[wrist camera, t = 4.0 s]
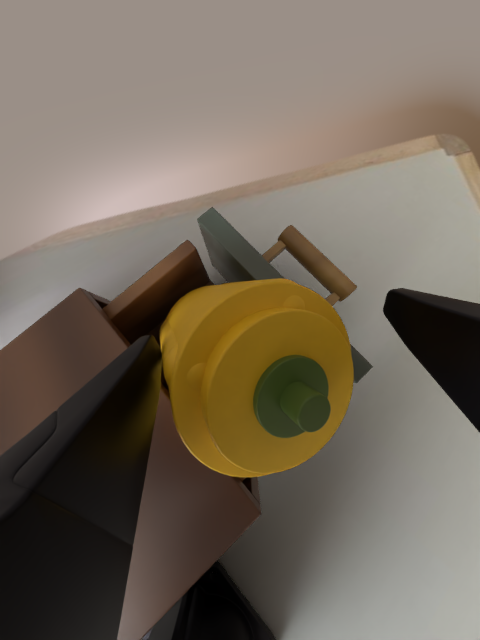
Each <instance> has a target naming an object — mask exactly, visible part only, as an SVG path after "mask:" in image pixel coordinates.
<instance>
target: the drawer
mask: <svg viewBox="0 0 480 640" xmlns="http://www.w3.org/2000/svg"><path fill="white" fill-rule="evenodd" d="M197 221H198V224H199V227H200V230H201V233H202V236H203V239H204V242H205V244H206V247H207V250H208V253H209V256H210V259H211V262H212V265H213V266H214V267H215V269H216V270H217V271H218V272H219V273H220V274H221V275H222V276H223V277H224V278H225V279H226V280H227V281H228V282H229V283H231V282H242V281H254V280H266V279H277V278H282V279H285V278H284V277H283V276H282V275H281V274H280V273H279V272H277V271H276V270H275V269H274V268H273V267H272V266H271V265H270V264H269V263H270V262H271V261H272V260H273V259H274V258H275V257H277V256H278V255H279V254H280V253H281V252H282V251H283V250H284V249H286V250H287V251H288V252H289V253H290V254H291V255H292V256H293V257H294V258H295V259H296V260H297V261H298V262H299V263H300V264H301V265H302V266H303V267H304V268H306V269H307V270H308V271H309V272H310V273H311V274H312V275H313V276H314V277H315V278H316V279H317V280H318V281H319V282H320V283H321V284H322V285H323V286H324V287H325V288H326V289H327V290H328V291H329V292H330V293H331V294H330V295H329V296H328V297H327V298H326V299H325V300H326V301H327V302H328V303H329V304H330V305H331V306H333V305H334V304H335V303H336V302H337V301H338V300H339V301H342V300H344V299H345V298H346V297H348V296H349V295H350V294H351V293H352V292H353V291H354V290H355V289H356V288H357V286H356V285H355V284H354V283H353V282H352V281H351V280H350V279H349V278H348V277H347V276H346V275H345V274H344V273H342V272H341V271H340V270H339V269H338V268H337V267H336V266H335V265H334V264H333V263H332V262H331V261H330V260H329V259H328V258H326V257H325V256H324V255H323V254H322V253H321V252H320V251H319V250H318V249H317V248H316V247H315V246H314V245H313V244H312V243H311V242H309V241H308V240H307V239H306V238H305V237H304V236H303V235H302V234H301V233H300V232H299V231H298V230H297V229H296V228H295V227H294V226H292V225H290V226H288V227H287V228H286V229H285V230H284V231H283V232H282V233H281V235H280V236H279V238H278V242H277V243H276V244H275V245H273V246H272V247H271V248H270V249H269V250H268V251H267V252H265V253H264V254H263V255H262V256H261V255H260V254H259V253H258V252H257V251H256V250H255V249H254V248H253V247H252V246H251V245H250V244H249V243H248V242H247V241H246V240H245V239H244V238H243V237H242V236H241V235H240V234H239V233H238V232H237V231H236V230H235V229H234V228H233V227H232V226H231V225H230V224H229V223H228V222H227V221H226V220H225V219H224V218H223V217H222V216H221V215H220V214H219V213H218V212H217V211H216V210H215V209H214V208H213V207H212V208H210V209H209V210H208V211H207V212H206V213H204V214H203V215H202V216H201V217H199V218H198V219H197ZM210 285H214V284H213V283H212V282H211V281H210V279H209V277H208V274H207V272H206V270H205V268H204V265H203V263H202V261H201V258H200V256H199V254H198V251H197V249H196V247H195V246H194V245H193V244H192V243H191V242H190V241H189V240H186V241H185V242H184V243H182V244H181V245H180V246H179V247H178V248H176V249H175V250H174V251H173V252H171V253H170V254H169V255H168V256H167V257H165V258H164V259H163V260H162V261H160V262H159V263H158V264H157V265H156V266H154V267H153V268H152V269H151V270H149V271H148V272H147V273H146V274H145V275H143V276H142V277H141V278H140V279H138V280H137V281H136V282H135V283H134V284H132V285H131V286H130V287H129V288H127V289H126V290H125V291H124V292H123V293H121V294H120V295H119V296H118V297H116V298H115V299H114V300H113V301H112V302H110V303H109V304H108V305H107V306H105V307H104V308H103V309H102V310H103V311H104V312H105V313H106V315H107V316H108V317H109V318H110V320H111V321H112V322H113V323H114V324H115V326H116V327H117V328H118V329H119V331H120V332H121V333H122V334H123V336H124V337H125V338H126V339H127V341H128V342H129V343H130V344H131V345H132V344H133V343H134V342H135V341H136V340H138V339H139V338H140V337H142V336H147V335H153V336H154V338H155V339H156V342H157V344H158V346H159V348H160V350H161V344H160V334H159V333H160V328H161V325H162V324H163V322H164V321H165V320H166V318H167V315H168V313H169V312H170V310H171V308H172V307H173V306H174V305H175V303H176V302H177V301H178V300H179V299H180V298H181V297H183V296H184V295H186V294H187V293H189V292H190V291H192V290H194V289H197V288H200V287H204V286H210ZM350 346H351V355H352V361H353V369H354V381H353V383H358V382H359V381H360V380H361V379H362V377H363V376H364V375H365V374H366V373H367V372H368V371H369V370H370V369H371V368H372V367H373V366H372V365H371V364H370V363H369V362H368V361H367V360H366V359H365V358H364V357H363V356H362V355H361V354H360V353H359V352H358V351H357V350H356V349H355V348H354V347H353V346H352V345H351V344H350ZM161 383H162V384H163V385H164V386H165V388H166V389H167V390H168V391H169V387H168V385H167V382H166V380H165V377H164V372H163V362H162V364H161ZM238 478H239V479H240V480H241V482H242V481H243V480H244V479H245V478H246V477H238Z"/></svg>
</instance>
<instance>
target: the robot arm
mask: <svg viewBox="0 0 480 640" xmlns="http://www.w3.org/2000/svg"><path fill="white" fill-rule="evenodd" d="M383 312H384V315H385V316H386V318H387V319H388V321H389V322H390V324H391V325H392V326H393V328H394V329H395V331H396V332H397V334H398V335H399V337H400V338H401V340H402V341H403V342H404V344H405V345H406V346H407V348H408V349H409V350H410V351H411V352H412V354H413V355H414V356H415V357H416V358H417V360H418V361H419V362H420V363H421V364H422V365H423V367H424V368H425V369H426V370H427V371H428V372H429V374H430V375H431V376H432V377H433V378H434V379H435V381H436V382H437V383H438V384H439V385H440V386H441V388H442V389H443V390H444V391H445V392H446V394H447V395H448V396H449V397H450V398H451V399H452V401H453V402H454V403H455V404H456V405H457V406H458V408H459V409H460V410H461V411H462V412H463V413H464V415H465V416H466V417H467V418H468V419H469V420H470V422H471V423H472V424H473V425H474V426H475V428H476V429H477V430H478V431H479V432H480V304H477V303H472V302H467V301H463V300H458V299H453V298H448V297H443V296H438V295H433V294H429V293H424V292H419V291H414V290H409V289H404V288H398V289H393V290H390V291H389V292H388V293H387V296H386V300H385V304H384V308H383ZM161 364H162V353H161V350H160V348H159V346H158V344H157V342H156V339H155V338H154V336H153V335H147V336H142V337H140V338H139V339H138V340H136V341H135V342H134V343H133V344H132V345H131V346H129V347H128V348H127V349H126V350H125V351H124V352H122V353H121V354H120V355H119V356H118V357H117V358H115V359H114V360H113V361H112V362H111V363H110V364H109V365H107V366H106V367H105V368H104V369H103V370H102V371H100V372H99V373H98V374H97V375H96V376H95V377H93V378H92V379H91V380H90V381H89V382H88V383H86V384H85V385H84V386H83V387H82V388H81V389H79V390H78V391H77V392H76V393H75V394H74V395H72V396H71V397H70V398H69V399H68V400H67V401H65V402H64V403H63V404H62V405H61V406H60V407H59V408H58V409H57V411H54V412H53V413H51V414H50V415H49V416H48V417H47V418H46V419H45V420H43V421H42V422H41V423H40V424H39V425H37V426H36V427H35V428H34V429H33V430H31V431H30V432H29V433H28V434H27V435H25V436H24V437H23V438H22V439H21V440H19V441H18V442H17V443H16V444H14V445H13V446H12V447H11V448H9V449H8V450H7V451H6V452H4V453H3V454H2V455H1V456H0V640H117V637H118V632H119V626H120V620H121V614H122V609H123V603H124V597H125V591H126V586H127V580H128V574H129V569H130V563H131V557H132V551H133V546H132V545H133V544H134V539H135V533H136V527H137V522H138V516H139V510H140V504H141V499H142V493H143V487H144V482H145V476H146V470H147V464H148V459H149V453H150V447H151V441H152V436H153V430H154V424H155V418H156V413H157V407H158V401H159V395H160V384H161ZM212 571H216V572H217V574H213V573H212ZM148 638H149V639H148ZM142 640H276V639H275V637H274V636H273V635H272V633H271V632H270V630H269V629H268V628H267V626H266V625H265V624H264V622H263V621H262V620H261V618H260V617H259V616H258V614H257V613H256V612H255V610H254V609H253V608H252V606H251V605H250V604H249V602H248V601H247V600H246V598H245V597H244V595H243V594H242V593H241V591H240V590H239V589H238V587H237V586H236V585H235V583H234V582H233V581H232V579H231V578H230V577H229V575H228V574H227V573H226V571H225V570H224V569H223V567H222V566H221V565H220V564H219V563H218V562H215V563H214V564H213V565H212V566H211V567H210V568H209V569H208V570H207V571H206V572H205V573H204V574H203V575H202V576H201V577H200V579H199V580H198V581H197V582H196V583H195V584H194V585H193V586H192V587H191V588H190V589H189V590H188V591H187V592H186V593H185V594H184V595H183V596H182V597H181V598H180V599H179V600H178V601H177V602H176V603H175V604H174V605H173V606H172V608H171V609H170V610H169V611H168V612H167V613H166V614H165V615H164V616H163V617H162V618H161V619H160V620H159V621H158V622H157V623H156V624H155V625H154V626H153V627H152V628H151V629H150V630H149V631H148V632H147V633H146V634H145V636H144V637H143V638H142Z"/></svg>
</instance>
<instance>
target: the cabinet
mask: <svg viewBox="0 0 480 640" xmlns="http://www.w3.org/2000/svg"><path fill="white" fill-rule="evenodd" d="M110 302H111V301H109V300H107V299H105V298H102V297H100V296H98V295H95V294H93V293H91V292H88V291H86V290H84V289H82V288H78V289H77V290H76V291H74V292H73V293H72V294H71V295H69V296H68V297H67V298H65V299H64V300H63V301H62V302H60V303H59V304H58V305H57V306H55V307H54V308H53V309H52V310H50V311H49V312H48V313H47V314H45V315H44V316H43V317H42V318H40V319H39V320H38V321H37V322H35V323H34V324H33V325H32V326H30V327H29V328H28V329H26V330H25V331H24V332H23V333H21V334H20V335H19V336H18V337H16V338H15V339H14V340H13V341H11V342H10V343H9V344H8V345H6V346H5V347H4V348H3V349H1V350H0V456H1V455H2V454H3V453H4V452H6V451H7V450H8V449H9V448H11V447H12V446H13V445H14V444H16V443H17V442H18V441H19V440H21V439H22V438H23V437H24V436H25V435H27V434H28V433H29V432H30V431H31V430H33V429H34V428H35V427H36V426H37V425H39V424H40V423H41V422H42V421H43V420H45V419H46V418H47V417H48V416H49V415H50V414H51V413H53V412H54V411H57V409H58V408H59V407H60V406H61V405H62V404H63V403H64V402H65V401H67V400H68V399H69V398H70V397H71V396H72V395H74V394H75V393H76V392H77V391H78V390H79V389H81V388H82V387H83V386H84V385H85V384H86V383H88V382H89V381H90V380H91V379H92V378H93V377H95V376H96V375H97V374H98V373H99V372H100V371H102V370H103V369H104V368H105V367H106V366H107V365H109V364H110V363H111V362H112V361H113V360H114V359H115V358H117V357H118V356H119V355H120V354H121V353H122V352H124V351H125V350H126V349H127V348H128V347H129V346H131V344H130V343H129V342H128V341H127V339H126V338H125V337H124V336H123V334H122V333H121V332H120V331H119V329H118V328H117V327H116V326H115V324H114V323H113V322H112V321H111V320H110V318H109V317H108V316H107V315H106V313H105V312H104V311H103V310H102V309H103V308H104V307H105V306H107V305H108V304H109V303H110ZM260 504H261V503H260V494H259V485H258V477H246V478H245V479H244V480H243V481H242V482H241V480H240V479H239V478H238V477H235V476H229V475H225V474H222V473H219V472H217V471H215V470H213V469H210V468H209V467H207V466H206V465H204V464H203V463H201V462H200V461H199V460H198V459H197V458H196V457H195V456H194V455H193V454H192V453H190V451H189V450H188V448H187V447H186V446H185V444H184V443H183V441H182V439H181V437H180V435H179V433H178V431H177V429H176V426H175V422H174V419H173V414H172V408H171V401H170V394H169V391H168V390H167V389H166V388H165V386H164V385H163V384H162V383H161V384H160V395H159V401H158V407H157V413H156V418H155V424H154V430H153V436H152V441H151V447H150V453H149V459H148V464H147V470H146V476H145V482H144V487H143V493H142V499H141V504H140V510H139V516H138V522H137V527H136V533H135V539H134V544H133V545H132V546H133V551H132V557H131V563H130V569H129V574H128V580H127V586H126V591H125V597H124V603H123V609H122V614H121V620H120V626H119V632H118V637H117V640H141V639H142V638H143V637H144V636H145V634H146V633H147V632H148V631H149V630H150V629H151V628H152V627H153V626H154V625H155V624H156V623H157V622H158V621H159V620H160V619H161V618H162V617H163V616H164V615H165V614H166V613H167V612H168V611H169V610H170V609H171V608H172V606H173V605H174V604H175V603H176V602H177V601H178V600H179V599H180V598H181V597H182V596H183V595H184V594H185V593H186V592H187V591H188V590H189V589H190V588H191V587H192V586H193V585H194V584H195V583H196V582H197V581H198V580H199V579H200V577H201V576H202V575H203V574H204V573H205V572H206V571H207V570H208V569H209V568H210V567H211V566H212V565H213V564H214V563H215V562H216V561H217V560H218V559H219V558H220V557H221V556H222V555H223V554H224V553H225V552H226V551H227V550H228V548H229V547H230V546H231V545H232V544H233V543H234V542H235V541H236V540H237V539H238V538H239V537H240V536H241V535H242V534H243V533H244V532H245V531H246V530H247V529H248V528H249V527H250V526H251V525H252V524H253V523H254V522H255V520H256V519H257V518H258V517H259V516H260V515H261V505H260Z"/></svg>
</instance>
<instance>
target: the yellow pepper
mask: <svg viewBox="0 0 480 640" xmlns="http://www.w3.org/2000/svg"><path fill="white" fill-rule="evenodd" d="M159 334H160V344H161V353H162V362H163V372H164V377H165V380H166V382H167V385H168V387H169V394H170V401H171V408H172V414H173V419H174V422H175V426H176V429H177V431H178V433H179V435H180V437H181V439H182V441H183V443H184V444H185V446H186V447H187V448H188V450H189V451H190V453H192V454H193V455H194V456H195V457H196V458H197V459H198V460H199V461H200V462H201V463H203V464H204V465H206V466H207V467H209V468H210V469H213V470H215V471H217V472H219V473H222V474H225V475H229V476H235V477H258V476H264V475H268V474H271V473H277V472H282V471H285V470H288V469H291V468H293V467H296V466H298V465H300V464H301V463H303V462H305V461H307V460H308V459H309V458H311V457H312V456H314V455H315V454H316V453H317V452H318V451H319V450H321V449H322V448H323V447H324V445H325V444H326V443H327V442H328V441H329V440H330V439H331V437H332V436H333V435H334V433H335V432H336V430H337V429H338V427H339V426H340V424H341V422H342V420H343V418H344V416H345V414H346V411H347V409H348V406H349V402H350V399H351V395H352V390H353V381H354V369H353V361H352V355H351V346H350V342H349V337H348V334H347V331H346V329H345V326H344V324H343V322H342V320H341V318H340V316H339V315H338V314H337V312H336V311H335V309H334V308H333V307H332V306H331V305H330V304H329V303H328V302H327V301H326V300H325V299H324V298H323V297H321V296H320V295H319V294H318V293H316V292H314V291H312V290H311V289H309V288H306V287H304V286H301V285H299V284H297V283H295V282H293V281H291V280H289V279H282V278H277V279H266V280H254V281H242V282H231V283H223V284H221V285H210V286H204V287H200V288H197V289H194V290H192V291H190V292H189V293H187V294H186V295H184V296H183V297H181V298H180V299H179V300H178V301H177V302H176V303H175V305H174V306H173V307H172V308H171V310H170V312H169V313H168V315H167V318H166V320H165V321H164V322H163V324H162V325H161V328H160V333H159Z"/></svg>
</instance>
